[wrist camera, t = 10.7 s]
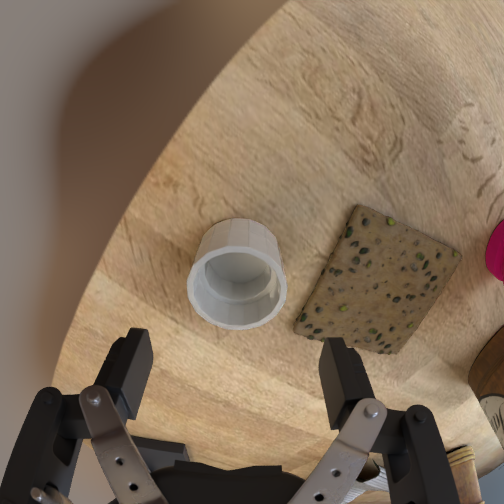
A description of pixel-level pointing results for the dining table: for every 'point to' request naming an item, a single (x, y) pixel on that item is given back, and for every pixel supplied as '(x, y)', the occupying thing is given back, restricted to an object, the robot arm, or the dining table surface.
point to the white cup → (237, 275)
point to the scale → (160, 452)
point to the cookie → (377, 284)
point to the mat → (368, 485)
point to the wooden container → (491, 383)
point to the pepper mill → (496, 253)
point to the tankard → (465, 475)
